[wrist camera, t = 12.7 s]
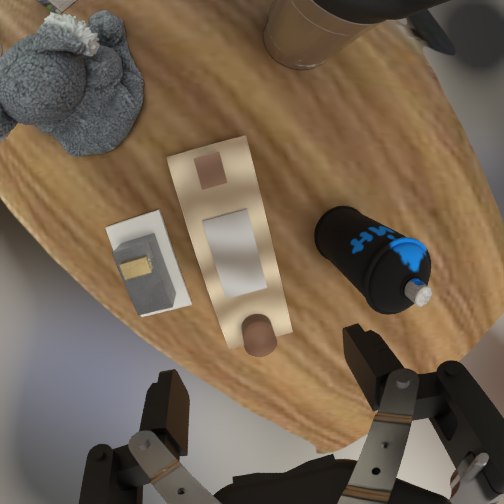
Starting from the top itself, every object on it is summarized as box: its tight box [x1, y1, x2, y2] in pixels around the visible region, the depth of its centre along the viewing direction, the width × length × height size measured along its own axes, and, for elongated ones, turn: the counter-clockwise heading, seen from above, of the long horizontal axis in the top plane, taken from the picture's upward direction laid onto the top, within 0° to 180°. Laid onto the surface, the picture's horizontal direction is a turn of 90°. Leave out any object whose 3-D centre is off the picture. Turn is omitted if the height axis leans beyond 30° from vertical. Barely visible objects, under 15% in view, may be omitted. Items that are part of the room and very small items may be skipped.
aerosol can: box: [315, 206, 432, 315], centre depth 32 cm, size 8×8×20 cm
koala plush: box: [0, 10, 144, 157], centre depth 22 cm, size 17×18×20 cm
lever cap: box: [112, 233, 176, 315], centre depth 37 cm, size 9×5×5 cm, turn 14°
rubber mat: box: [106, 209, 192, 317], centre depth 40 cm, size 14×8×1 cm, turn 14°
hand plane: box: [167, 136, 292, 357], centre depth 35 cm, size 26×9×11 cm, turn 14°
